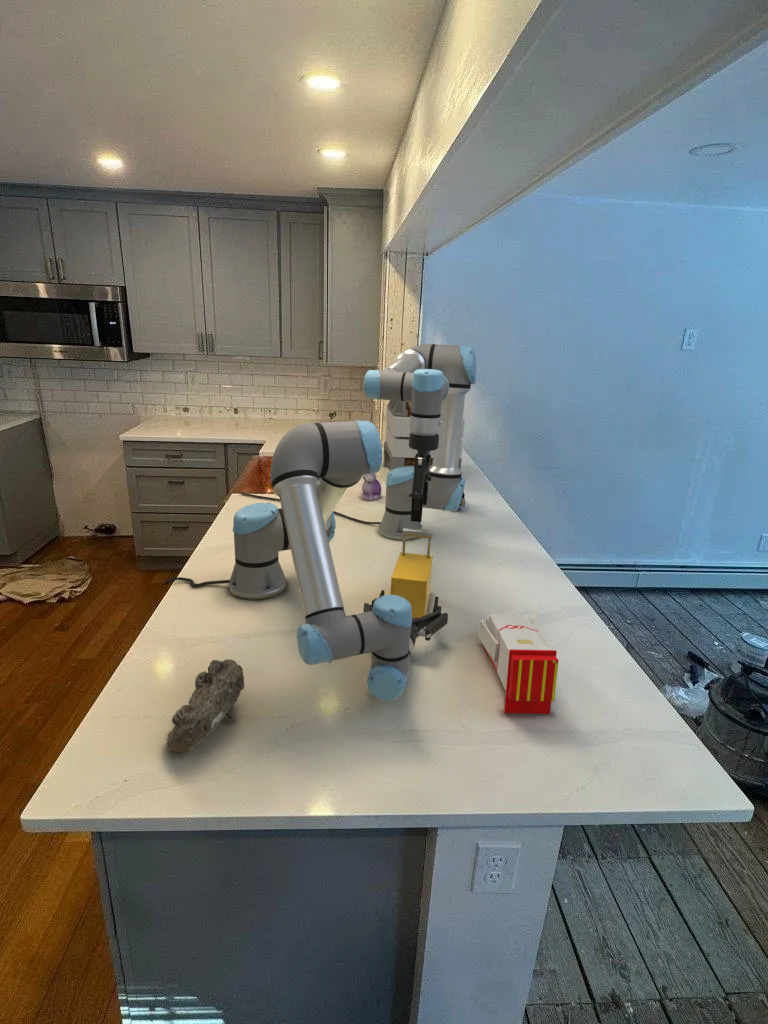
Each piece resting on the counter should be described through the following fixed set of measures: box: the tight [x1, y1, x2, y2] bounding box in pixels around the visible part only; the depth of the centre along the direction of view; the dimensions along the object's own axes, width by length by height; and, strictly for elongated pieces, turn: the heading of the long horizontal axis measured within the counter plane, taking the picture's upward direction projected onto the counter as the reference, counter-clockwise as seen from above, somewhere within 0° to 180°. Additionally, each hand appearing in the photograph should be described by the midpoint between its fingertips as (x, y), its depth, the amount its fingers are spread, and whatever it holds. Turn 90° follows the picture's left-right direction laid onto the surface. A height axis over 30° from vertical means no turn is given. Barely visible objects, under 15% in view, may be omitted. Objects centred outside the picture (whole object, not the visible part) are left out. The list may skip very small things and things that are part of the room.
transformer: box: [382, 400, 465, 472], centre depth 268 cm, size 34×33×41 cm
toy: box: [477, 613, 560, 715], centre depth 124 cm, size 12×13×30 cm
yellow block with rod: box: [390, 528, 434, 586], centre depth 147 cm, size 16×9×9 cm, turn 170°
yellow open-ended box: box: [389, 564, 433, 619], centre depth 150 cm, size 16×9×10 cm, turn 170°
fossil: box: [166, 658, 245, 754], centre depth 106 cm, size 22×10×15 cm
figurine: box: [361, 473, 382, 501], centre depth 234 cm, size 9×10×15 cm
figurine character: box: [457, 491, 466, 511], centre depth 229 cm, size 7×8×15 cm
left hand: (409, 598), depth 143 cm, fingers open, 13 cm apart
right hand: (419, 512), depth 150 cm, fingers open, 13 cm apart
